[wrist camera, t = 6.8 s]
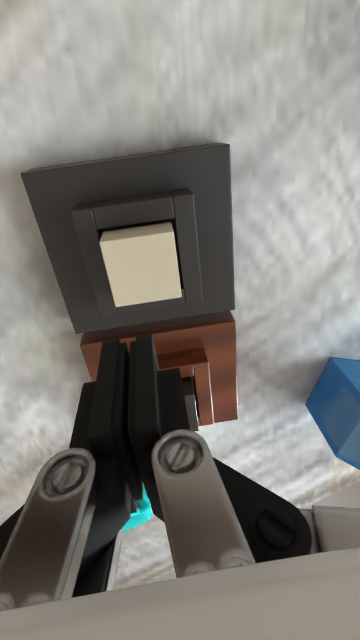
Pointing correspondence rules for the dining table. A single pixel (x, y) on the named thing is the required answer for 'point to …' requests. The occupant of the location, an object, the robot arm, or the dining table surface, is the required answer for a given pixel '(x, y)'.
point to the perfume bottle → (339, 408)
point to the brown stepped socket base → (186, 357)
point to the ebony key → (190, 403)
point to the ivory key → (141, 264)
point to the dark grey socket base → (133, 211)
